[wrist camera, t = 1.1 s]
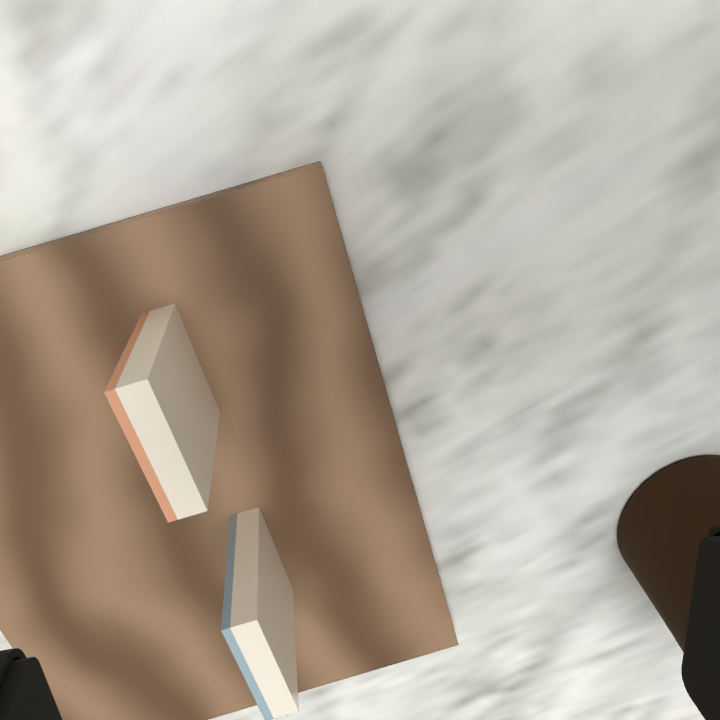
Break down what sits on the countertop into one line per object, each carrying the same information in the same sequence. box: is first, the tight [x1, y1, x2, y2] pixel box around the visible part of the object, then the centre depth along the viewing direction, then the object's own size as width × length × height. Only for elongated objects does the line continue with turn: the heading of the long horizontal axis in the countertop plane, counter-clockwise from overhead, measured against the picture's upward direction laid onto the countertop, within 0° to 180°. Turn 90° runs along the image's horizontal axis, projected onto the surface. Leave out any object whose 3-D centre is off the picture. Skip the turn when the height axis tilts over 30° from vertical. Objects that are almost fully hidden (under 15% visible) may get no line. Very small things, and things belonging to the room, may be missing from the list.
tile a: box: [104, 304, 220, 523], centre depth 29 cm, size 2×6×8 cm, turn 15°
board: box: [0, 161, 458, 720], centre depth 37 cm, size 24×30×2 cm
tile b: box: [221, 507, 299, 720], centre depth 34 cm, size 2×6×8 cm, turn 15°
